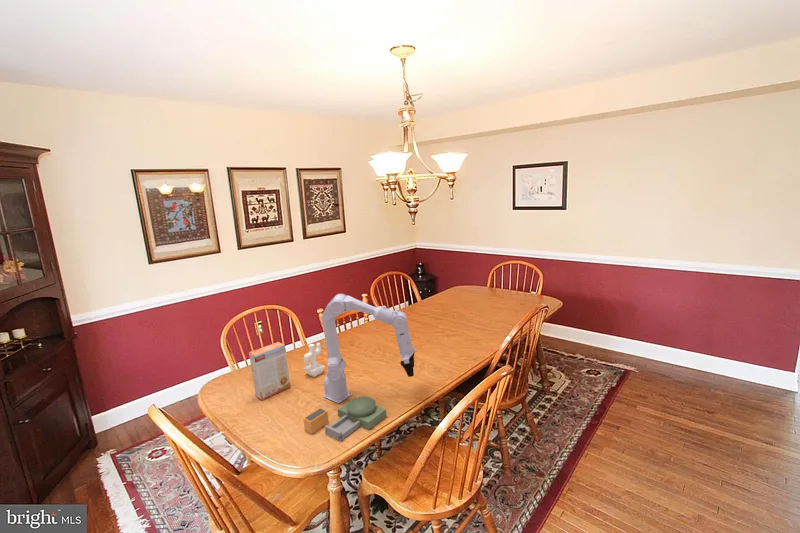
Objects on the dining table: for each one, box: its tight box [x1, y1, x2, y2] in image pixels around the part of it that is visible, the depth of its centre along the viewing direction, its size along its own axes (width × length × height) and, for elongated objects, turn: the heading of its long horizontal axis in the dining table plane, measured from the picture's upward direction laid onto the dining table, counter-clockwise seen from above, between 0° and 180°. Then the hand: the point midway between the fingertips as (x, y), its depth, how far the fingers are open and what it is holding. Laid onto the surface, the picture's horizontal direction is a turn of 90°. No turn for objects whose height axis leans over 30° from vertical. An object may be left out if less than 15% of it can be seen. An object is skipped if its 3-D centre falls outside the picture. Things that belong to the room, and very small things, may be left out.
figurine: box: [303, 342, 326, 378], centre depth 181 cm, size 7×9×15 cm
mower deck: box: [324, 396, 387, 442], centre depth 143 cm, size 16×21×5 cm
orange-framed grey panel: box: [303, 407, 329, 435], centre depth 142 cm, size 4×8×5 cm, turn 143°
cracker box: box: [248, 341, 291, 401], centre depth 166 cm, size 14×6×21 cm, turn 135°
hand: (411, 371), depth 158 cm, fingers open, 7 cm apart
